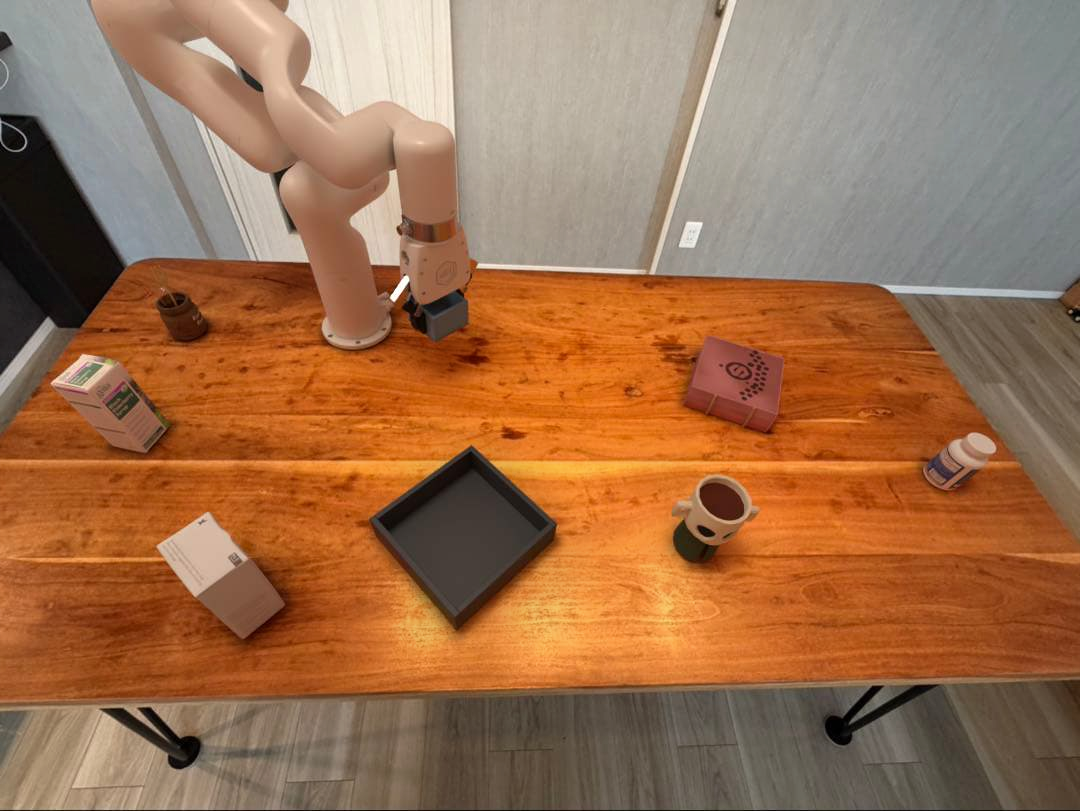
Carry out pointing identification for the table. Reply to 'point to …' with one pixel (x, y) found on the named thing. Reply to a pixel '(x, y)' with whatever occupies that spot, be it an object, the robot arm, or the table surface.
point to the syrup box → (112, 402)
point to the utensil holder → (179, 312)
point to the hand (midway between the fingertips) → (438, 318)
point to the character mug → (711, 516)
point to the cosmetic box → (221, 575)
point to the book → (736, 383)
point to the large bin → (463, 534)
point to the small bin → (445, 315)
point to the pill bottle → (959, 461)
